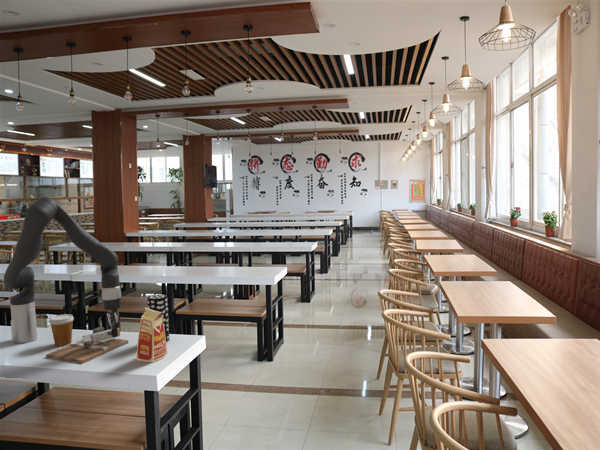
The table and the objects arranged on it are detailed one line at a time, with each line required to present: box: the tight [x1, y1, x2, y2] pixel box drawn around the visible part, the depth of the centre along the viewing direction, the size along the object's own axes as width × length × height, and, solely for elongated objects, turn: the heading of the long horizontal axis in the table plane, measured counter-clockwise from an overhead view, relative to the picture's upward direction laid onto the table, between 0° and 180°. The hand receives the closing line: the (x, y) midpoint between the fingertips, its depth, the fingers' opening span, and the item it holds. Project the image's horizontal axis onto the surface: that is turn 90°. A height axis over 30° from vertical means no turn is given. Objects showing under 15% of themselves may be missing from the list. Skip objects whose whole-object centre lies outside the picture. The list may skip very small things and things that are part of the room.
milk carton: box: [135, 307, 168, 363], centre depth 177 cm, size 9×9×20 cm
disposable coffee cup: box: [48, 313, 75, 347], centre depth 196 cm, size 10×10×12 cm
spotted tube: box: [146, 293, 170, 343], centre depth 196 cm, size 8×8×20 cm
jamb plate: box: [45, 326, 129, 364], centre depth 188 cm, size 20×24×6 cm
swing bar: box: [82, 327, 121, 346], centre depth 192 cm, size 15×4×4 cm, turn 137°
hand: (114, 336), depth 193 cm, fingers closed
